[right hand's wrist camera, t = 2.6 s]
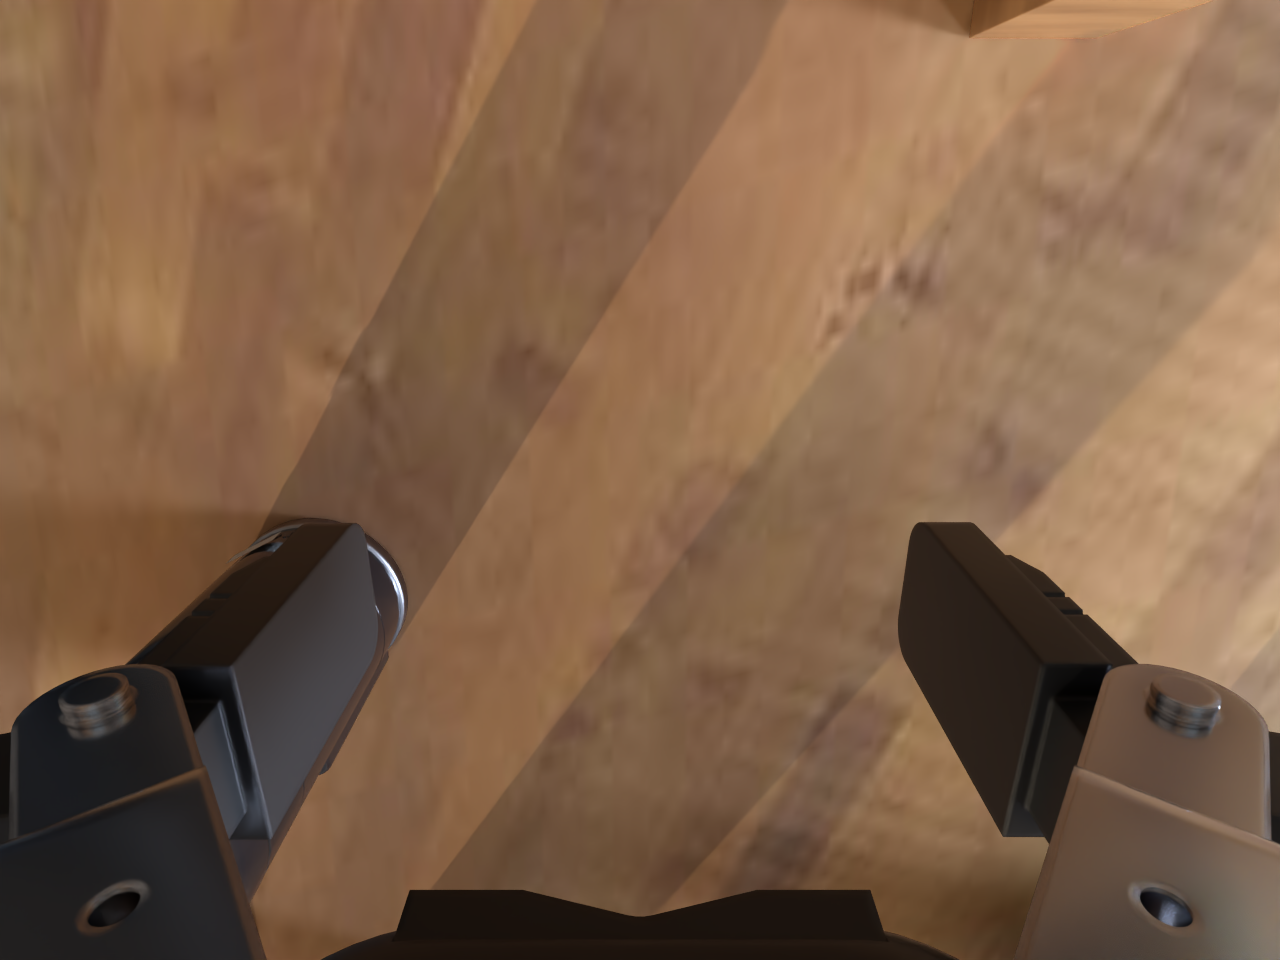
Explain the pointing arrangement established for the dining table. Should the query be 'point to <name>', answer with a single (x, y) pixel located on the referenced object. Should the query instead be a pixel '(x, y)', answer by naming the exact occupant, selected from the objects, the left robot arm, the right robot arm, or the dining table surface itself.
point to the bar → (1067, 17)
